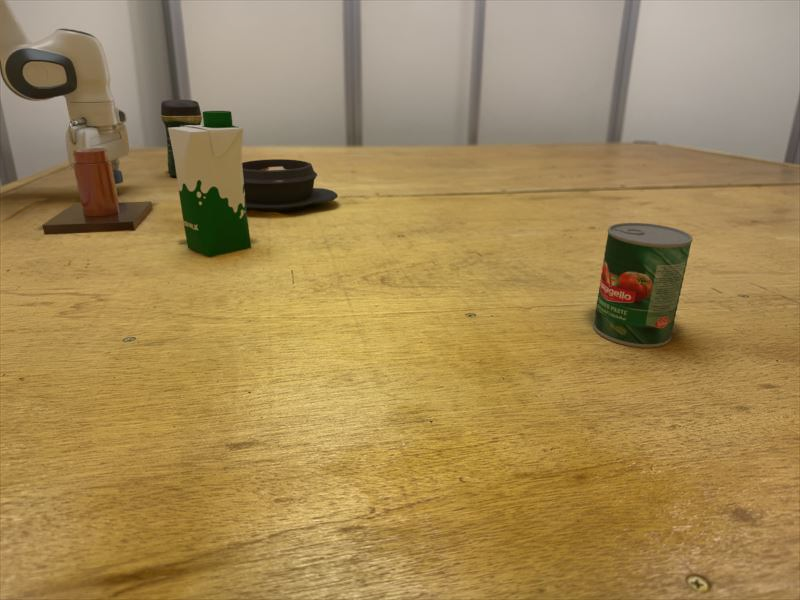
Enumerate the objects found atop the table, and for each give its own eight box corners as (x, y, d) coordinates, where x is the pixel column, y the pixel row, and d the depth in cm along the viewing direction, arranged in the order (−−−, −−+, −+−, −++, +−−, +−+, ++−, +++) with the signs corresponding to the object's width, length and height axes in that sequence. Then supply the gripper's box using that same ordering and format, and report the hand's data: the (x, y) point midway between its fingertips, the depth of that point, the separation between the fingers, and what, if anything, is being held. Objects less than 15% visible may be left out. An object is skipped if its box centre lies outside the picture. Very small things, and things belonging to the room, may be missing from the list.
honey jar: (79, 217, 96) (65, 152, 92) (87, 209, 101) (74, 148, 97) (117, 215, 98) (105, 151, 93) (123, 207, 103) (111, 147, 99)
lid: (129, 180, 122) (127, 170, 121) (111, 185, 116) (109, 174, 115) (102, 179, 123) (100, 169, 122) (83, 184, 117) (81, 173, 116)
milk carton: (259, 248, 86) (247, 112, 78) (204, 260, 80) (185, 115, 72) (231, 236, 91) (217, 109, 84) (178, 247, 85) (158, 111, 78)
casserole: (213, 222, 100) (207, 175, 97) (211, 200, 116) (206, 160, 113) (347, 212, 107) (346, 169, 104) (328, 194, 123) (326, 155, 120)
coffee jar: (171, 179, 138) (160, 100, 131) (167, 174, 144) (156, 99, 137) (211, 176, 142) (202, 100, 135) (205, 171, 149) (196, 98, 142)
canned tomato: (681, 330, 60) (703, 232, 56) (656, 355, 54) (678, 249, 50) (609, 310, 65) (625, 218, 60) (580, 331, 59) (595, 232, 55)
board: (44, 234, 92) (42, 225, 91) (75, 211, 106) (73, 203, 105) (134, 230, 94) (132, 221, 94) (152, 208, 109) (151, 201, 108)
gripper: (84, 120, 105) (98, 192, 110) (129, 113, 124) (139, 175, 129) (50, 120, 105) (66, 192, 110) (100, 112, 124) (112, 175, 129)
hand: (106, 183), depth 120 cm, fingers closed on lid, 6 cm apart
